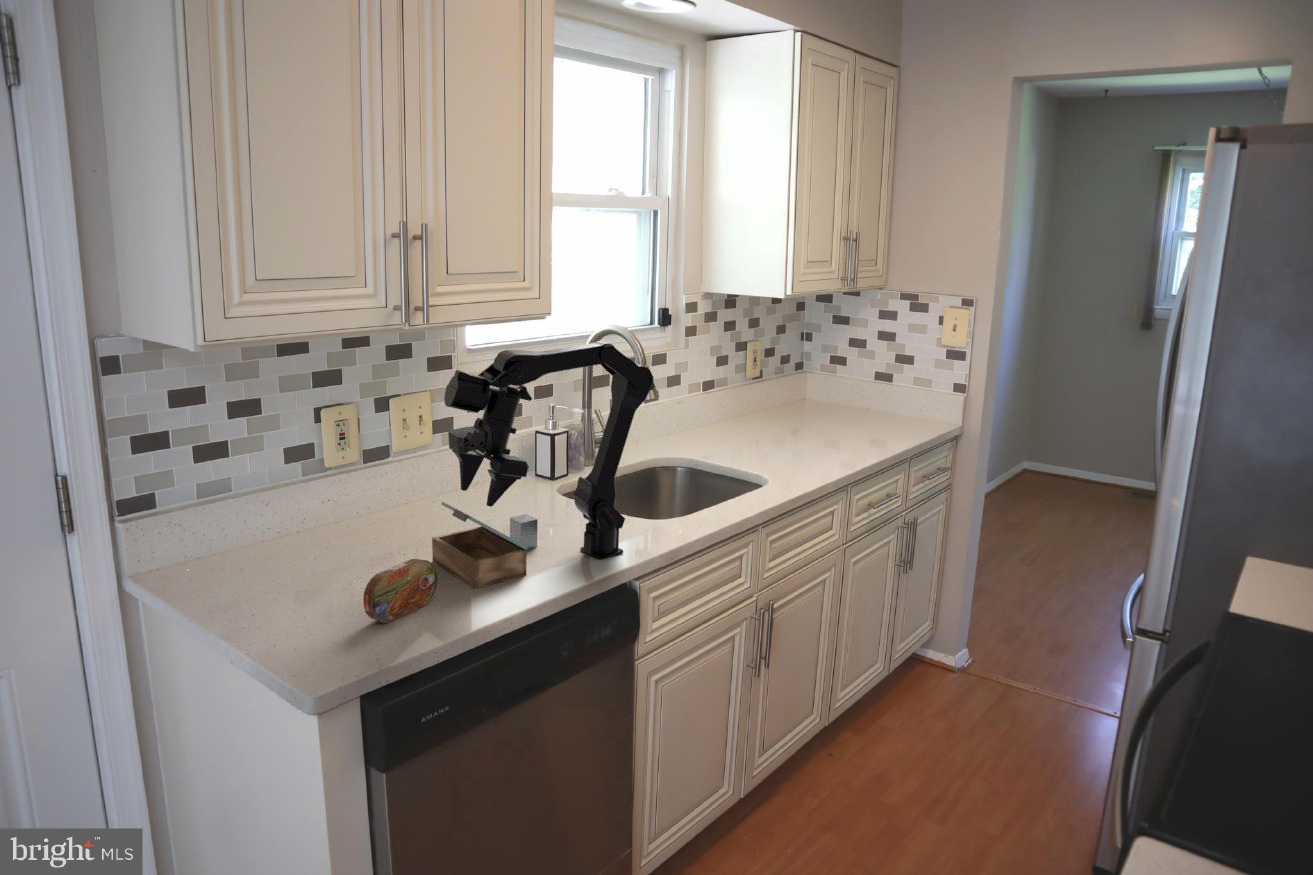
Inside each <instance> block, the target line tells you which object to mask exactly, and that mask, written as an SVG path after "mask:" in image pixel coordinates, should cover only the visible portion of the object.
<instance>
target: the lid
mask: <svg viewBox="0 0 1313 875" xmlns="http://www.w3.org/2000/svg"><path fill="white" fill-rule="evenodd" d="M440 504H441V506H443V507H445V508H447V509H449V510H451V511H452V514H451V516H453V517H455V518H456V519H458V520H460V521H463V522H464V523H466V522H467V519H468V520H470V521H471V522H473V523H475V524H477V525H479V527H481V526H482V527H484V528H486V529H488V530H490V531H492V532H493V533H495V534H497V535H499V536H501V537H503V538H505V539H507V540H509V541H510V542H512V543H514V544H516V545H518V546H520V547H522V548H524V549H525V550H528V549H527V548H528V547H527V546H525V545H523V544H521V543H519V542H517V541H516V540H514V539H512V538H510V536H508V535H506V534H505V533H503V532H500V531H499V530H497V529H495V528H493V527H491V526H490V525H488V524H486V523H483V521H480V520H479V519H476V518H474V517H472V516H471V515H468V514H467V513H466V512H463V511H461V510H459V509H457V508H455V507H454V506H451V505H450V504H448V503H446V502H444V501H442V502H441V503H440Z"/></svg>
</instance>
